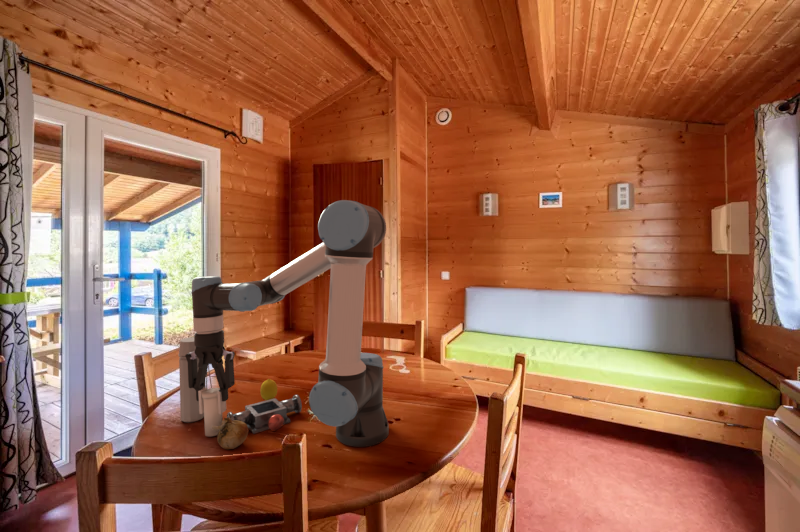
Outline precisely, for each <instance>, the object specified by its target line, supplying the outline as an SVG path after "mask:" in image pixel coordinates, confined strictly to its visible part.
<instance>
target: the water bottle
mask: <svg viewBox="0 0 800 532" xmlns="http://www.w3.org/2000/svg"><path fill="white" fill-rule="evenodd" d="M178 349H179V350H178V354H177V355H178V358H179V359H178V363H179V365H178V366H179V367H178V368H179V371H178V372H179V400H180V401H179V407H180V408H179V409H180V421H182V422H184V423H194V422H198V421H200V420H202V419H204V413H202V414H199V401H197V400H196V390H195V389H194V388H189V384H188V362H187V359H186V357H185V355H186V354H188V353H190V352H194V351H195V349H196V346H195V344H194V336H191V337H185V338H182V339H180V340H179V348H178ZM198 363H199V359H198V357H197V369H199V367H198ZM207 371H208V372H207V373H206V378H205V384H204V385H205V386H204V387H203V388H207V389H208V376H209V383H210V389H211V388H213V385H212V384H213V383H212V380H211V379H212V378H211V372H210V364H209V365H208V368H207Z"/></svg>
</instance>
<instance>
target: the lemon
mask: <svg viewBox="0 0 800 532" xmlns="http://www.w3.org/2000/svg"><path fill="white" fill-rule="evenodd" d="M259 393H260V396H261V399H263V401H266V400H270V399H274V398H275V399H276V397H277V394H278V385H277V383H276V381H274V380H273V379H271V378H267V379H266V380H264V381H263V382H262V384H261V386H260V392H259Z"/></svg>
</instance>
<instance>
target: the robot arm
mask: <svg viewBox="0 0 800 532" xmlns="http://www.w3.org/2000/svg"><path fill="white" fill-rule="evenodd" d="M317 230H318V236H319V239H320V240H321V241H322V242H321V243H319V244H318V245H316V246H315V247H313V248H311V249H310V250H308V251H307V252H305V253H303V254H301V255H300V256H298V257H297V258H295V259H293V260H292V261H290V262H289V263H288V264H286V265H284V266H282V267H280V268H279V269H277V270H276V271H274V272H273V273H271V274H270V275H268V276H266V277H264V278H263V279H261V280H255V281H254V280H252V281H246V282H239V283H237V282H236V283H235V282H234V283H223V281H222V278H221V276H220V275H219V276H218V275H212V276H210V275H209V276H197V277H194V278H193V279H192V281H191V291H190V292H191V299H192V301H191V303H192V316H193V317H192V318H193V322H192V323H193V331H194V334H193V337H194V344H195V346H196V349H195V351H194V352H190V353H188V354H186V355H185V357H186V359H187V362H188V384H189V388H194V389H195V390H196V400H197V401H199V414H202V413H204V401H203V398H202V392H203V391H205V390H207V389H208V387H207V388H203V387H204V386H206V373H207V374H208V365H209V366H210V365H211V367H212V368H213V370H214V374H215V377H216V379H217V384H218V388H220V390H219V391H217V395H218V414H222V415H223V413H224V412H226V411H227V401H228V400H229V389H230V388H232V387H233V386H235V381H236V380H235V367H234V366H235V365H234V364H235V363H234V359H235V355H236V352H235V351H228V350H226V348H225V331H224V330H223V329H224V311H225V312H226V311H230V312H243V313H244V312H251V311H255V310H257V308H258V307H261V306H265V305H266V306H267V305H273V304H275V303H278V302H280V301H282V300H283V299H285V296H286V295H287V294H289V293H291V292H293V291H294V290H296V289H297V288H299V287H301V286H303V285H305V284H306V283H308V282H310V281H312V280H314V279H315V278H316V277H318V276H319V275H321V274H323V273H325V272H327V271H328V270H330V275H329V277H330V279H329V294H328V295H329V296H328V311H327V313H328V314H327V327H326V328H327V330H326V350H325V359H324V360H322V362H320V364H319V365H318V378H317V379H318V381H317V383H316V384H314V385H313V386H312V388H311V390H310V391H309V397H308V402H309V407H310V410H311V412H312V414H313V415H314V416H316V418H317V419H318V421H320V422H321V423H323V424H325V425H327V426H330V427H335V437H336V439H337V440H338V441H339V442H340V443H342V444H343V445H346V446H349V447H354V448H355V447H357V448H358V447H359V448H360V447H361V448H363V447H370V446H374V445H377V444H380V443H382V442H384V440H386V439H387V438H388V436H389V434H390V433H389V429H390V428H389V422H388V418H387V416H386V413H385V409H384V405H383V404H384V403H383V402H384V400H383V399H384V398H383V397H384V396H383V394H384V393H383V392H384V390H383V389H384V388H383V387H384V386H383V385H384V379H383V378H384V365H383V358H382V357H381V355H379V354H377V353H376V354H375V353H370V352H362V338H363V325H364V324H363V321H364V309H365V308H364V304H365V292H366V289H365V287H366V272H367V265H368V264H369V263H370V261H372V260H373V259H374V248H376V247H378V246H379V245H380V244H381V243H382V241H383V240H384V238H385V235H386V233H387V223H386V219H385V217H384V216H383V214H382V213H381V212H380V211H379V210H378V209H377V208H375V207H373V206H370V205H366V204H363V203H360V202H358V201H356V200H349V199H348V200H347V199H341V200H337V201H334V202H332V203H331V204H329V205H328V206H327V207H326V208H324V210H323V211H322V213H321V214H320V217H319V220H318V223H317ZM197 357H198V359H199V363H198V367H199V369H197ZM204 384H205V385H204Z"/></svg>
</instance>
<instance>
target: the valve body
mask: <svg viewBox="0 0 800 532" xmlns="http://www.w3.org/2000/svg"><path fill="white" fill-rule="evenodd" d="M302 408H303V405H302V399H301V397H300V395H299V394H294V395H293V396H292V397H291V398H289V399H285V400H281V401H279V400H278V399H277V398H276V397H275V398H273V399H270V400H263V401H258V402H255V403H252V404H248V405H247V404H246V405H244V410H243V411H240V412H236V413H233V411H229V412H227V413H226V418H230V420H232V421H234V420H238V421H242V422H244V423H245V424H246V425H247V426H248V430H250V432H251V433H252V434H253V435H255V434H258V433H261V432H264V431H267V430H271V431H278V430H279V429H281V428H282V427H283V425H287V424H290V423H291V419H290V417H288V416H287V414H288V413H289V414H290V413H292V412H295V413H296V414H300V413H301V412H302Z"/></svg>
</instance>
